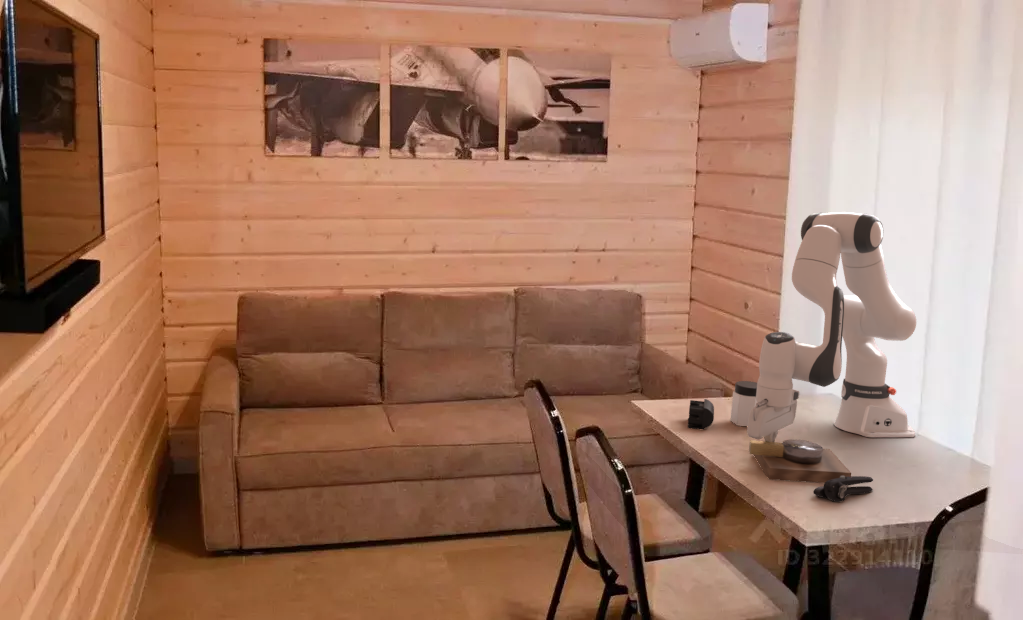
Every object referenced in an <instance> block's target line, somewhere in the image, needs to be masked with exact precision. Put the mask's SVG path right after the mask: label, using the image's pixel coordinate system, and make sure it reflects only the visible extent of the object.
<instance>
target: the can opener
mask: <svg viewBox="0 0 1023 620" xmlns="http://www.w3.org/2000/svg"><path fill="white" fill-rule="evenodd" d="M872 482H874V479H873V478H872V477H871V476H867V475H866V476H863V475H858V476H857V475H854V476H853V475H851V476H849V477H845V476H840V478H836V479H832V480H828V481H826V482H825V483H823V485H822V486H817V487H815V488H813V490H812V491H813V495H815V496H817V497H820V498H822V499H828V500H830V501H832V502H836V503H840V502H844V501H845V498H846V497H847V496H848V495H863V494H864V495H865V494H868V493H871V492H872V491H873V490H874V489H873V488H872V487H871V486H868V485H863V486H855V485H860V484H866V483H867V484H868V483H872ZM852 485H853V486H852Z"/></svg>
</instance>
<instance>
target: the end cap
mask: <svg viewBox="0 0 1023 620" xmlns="http://www.w3.org/2000/svg"><path fill="white" fill-rule="evenodd" d="M688 408H689V409H688V420H687V421H688V422H687V429H691V428H692V429H693V430H700V429H703V430H706V429H708V428H709V427H710V426H711V425H712V424H713V423H714V420H715V406H714V404H713V402H712V401H710V400H709V399H706V398H704V400H703V401H702V400H693V399H691V400H690V401H689V407H688Z"/></svg>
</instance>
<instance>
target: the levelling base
mask: <svg viewBox="0 0 1023 620" xmlns="http://www.w3.org/2000/svg"><path fill="white" fill-rule="evenodd" d="M753 455H754V454H752V456H753ZM754 456H755V457H754ZM754 456H753V457H754V459H755V458H756V459H757V460H756V459H755V460H756V462H757V461H758V462H757V464H758V463H759V464H760V465H759V464H758V465H759V467H760V466H761V467H760V468H761V470H762V469H763V470H762V471H763V473H764V475H765V476H766V478H767V477H768V478H767V479H768V480H770V481H784V480H790V481H789V482H801V481H806V482H805V483H819V484H820V483H822V484H824V483H825V482H826V481H828V480H832V479H836V478H840V476H845V477H849V476H852V471H851V470H849V468H848V467H847V466H846V465H845V464H844V463H843V461H841V459H839V457H838V456H837V455H836V454H835V452H833V450H832V449H831V448H823V452H822V460H821V462H819V463H815V464H804V463H797V462H793V461H789V460H787V459H785V458H783V457H777V456H765V455H754Z"/></svg>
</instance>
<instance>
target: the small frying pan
mask: <svg viewBox="0 0 1023 620" xmlns="http://www.w3.org/2000/svg"><path fill="white" fill-rule="evenodd" d="M748 445H749V447H748V452H749V455H753V454H754V455H765V456H777V457H783V458H785V459H787V460H789V461H793V462H797V463H804V464H815V463H819V462H821V460H822V452H823V449H824V448H823V446H821V445H820V444H819V443H815V442H812V441H809V440H803V439H786V440H783V441H782V442H767V441H765V440H756V439H755V440H751V439H749V444H748Z"/></svg>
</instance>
